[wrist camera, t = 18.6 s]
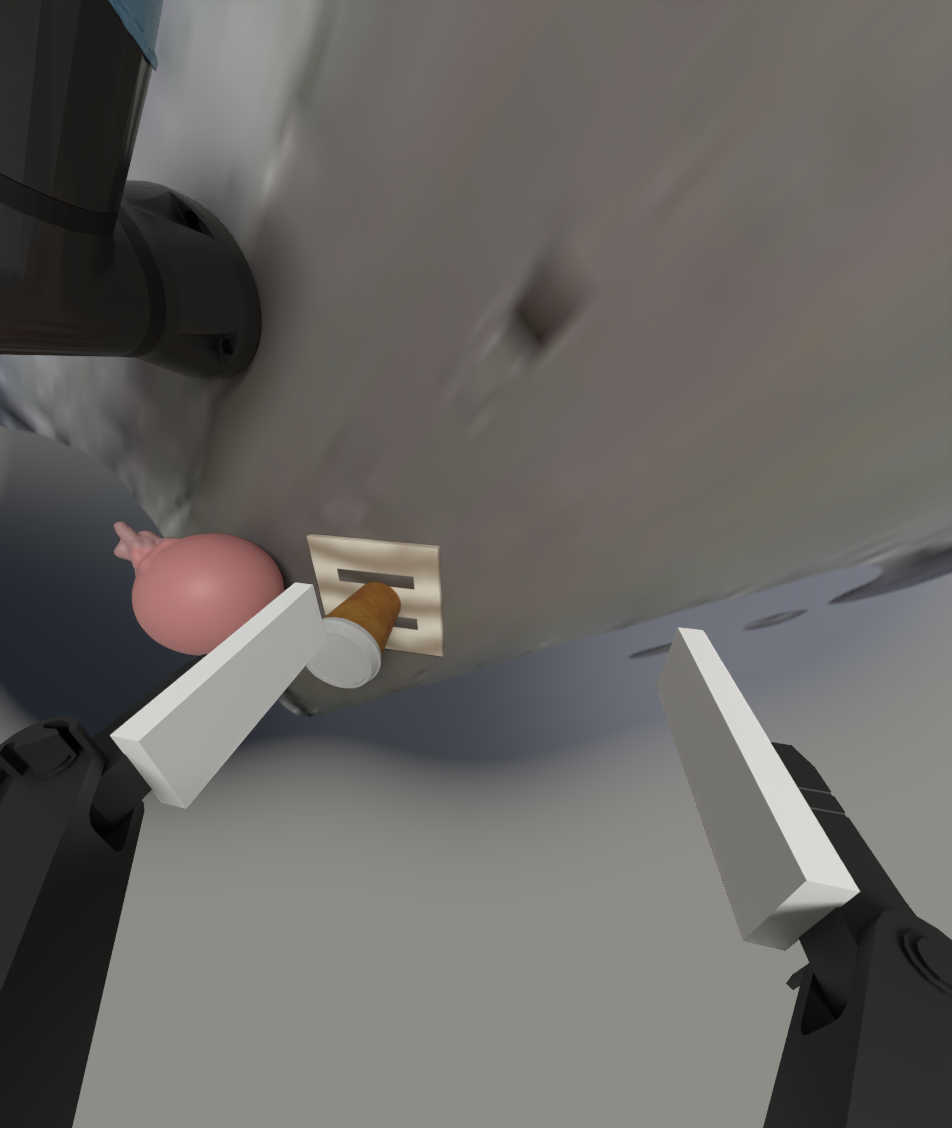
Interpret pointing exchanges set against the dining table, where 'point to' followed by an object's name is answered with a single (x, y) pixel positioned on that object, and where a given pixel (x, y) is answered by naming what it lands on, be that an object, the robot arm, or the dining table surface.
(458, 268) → the dining table surface
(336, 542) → the board
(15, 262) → the robot arm
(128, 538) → the balloon
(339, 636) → the disposable coffee cup
